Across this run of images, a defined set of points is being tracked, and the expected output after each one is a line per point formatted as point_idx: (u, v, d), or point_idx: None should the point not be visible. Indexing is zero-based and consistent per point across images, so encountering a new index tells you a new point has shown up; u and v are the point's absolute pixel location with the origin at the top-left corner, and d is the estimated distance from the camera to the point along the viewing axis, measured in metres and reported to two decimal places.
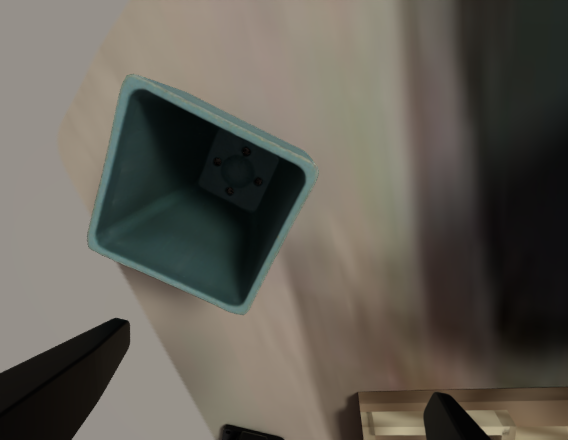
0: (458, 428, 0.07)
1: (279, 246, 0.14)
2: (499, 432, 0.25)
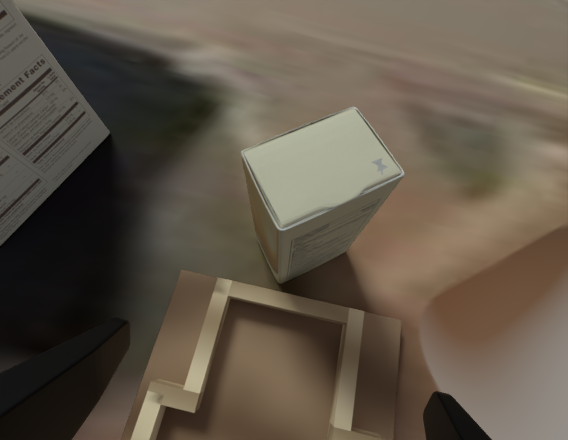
0: (458, 428, 0.07)
1: None
2: (154, 407, 0.18)
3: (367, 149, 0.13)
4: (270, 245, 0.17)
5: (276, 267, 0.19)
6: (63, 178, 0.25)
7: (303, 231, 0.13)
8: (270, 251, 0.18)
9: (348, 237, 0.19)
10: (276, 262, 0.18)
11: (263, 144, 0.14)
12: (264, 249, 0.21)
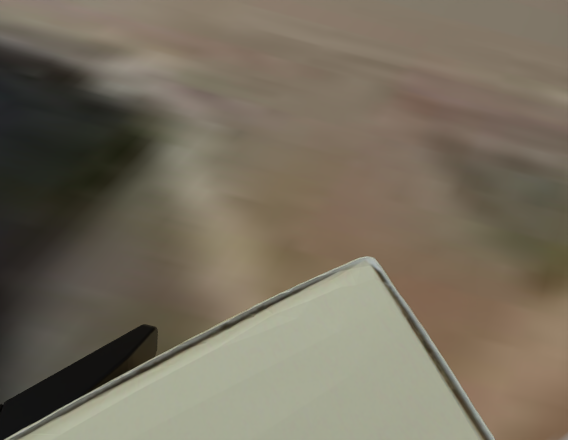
0: None
1: None
2: None
3: None
4: None
5: None
6: None
7: None
8: None
9: None
10: None
11: (31, 437, 0.04)
12: None
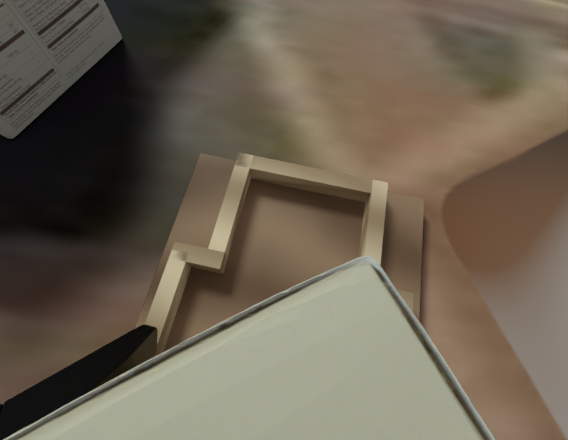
0: None
1: None
2: (179, 263, 0.17)
3: None
4: None
5: None
6: (76, 76, 0.25)
7: None
8: None
9: None
10: None
11: (27, 439, 0.04)
12: None
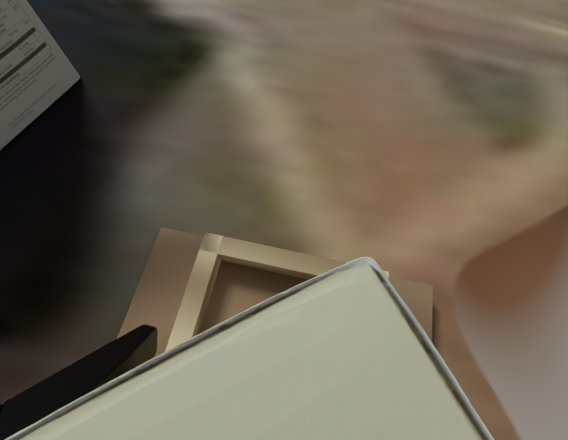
0: None
1: None
2: None
3: None
4: None
5: None
6: (22, 126, 0.21)
7: None
8: None
9: None
10: None
11: None
12: None
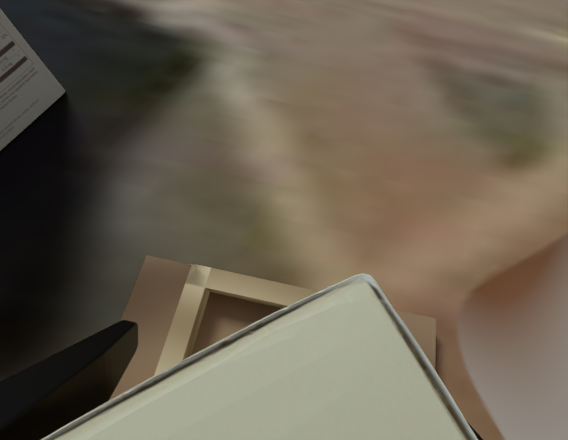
0: None
1: None
2: None
3: None
4: None
5: None
6: (2, 144, 0.20)
7: None
8: None
9: None
10: None
11: None
12: None
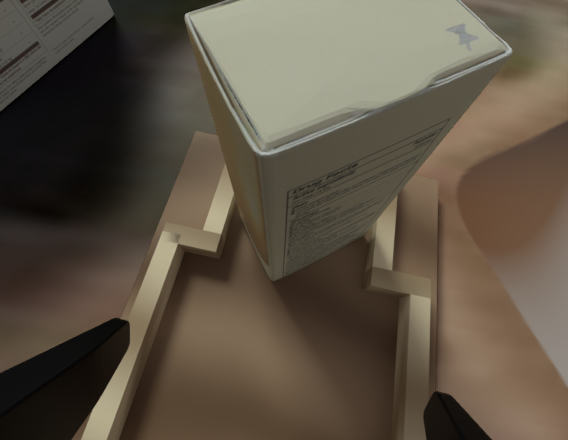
0: (458, 428, 0.07)
1: None
2: (170, 246, 0.16)
3: (435, 10, 0.07)
4: (253, 215, 0.10)
5: (265, 254, 0.12)
6: (64, 53, 0.23)
7: (310, 171, 0.07)
8: (255, 228, 0.11)
9: (375, 207, 0.13)
10: (264, 245, 0.11)
11: (229, 4, 0.07)
12: (249, 231, 0.15)
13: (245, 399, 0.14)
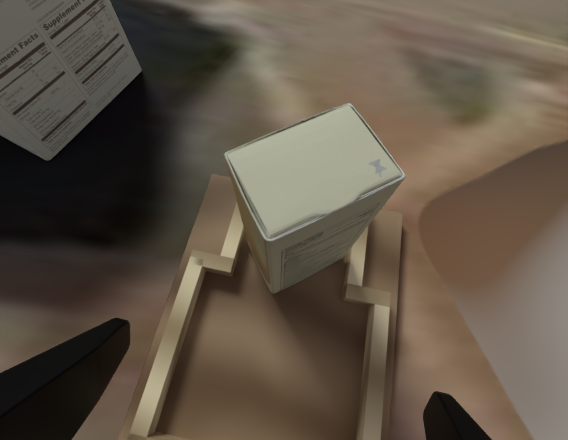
0: (458, 428, 0.07)
1: None
2: (196, 268, 0.21)
3: (364, 149, 0.12)
4: (260, 255, 0.15)
5: (268, 277, 0.18)
6: (103, 105, 0.29)
7: (294, 241, 0.12)
8: (261, 260, 0.17)
9: (345, 244, 0.18)
10: (267, 273, 0.16)
11: (249, 145, 0.12)
12: (256, 257, 0.20)
13: (252, 381, 0.20)
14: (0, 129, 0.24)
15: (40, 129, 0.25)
